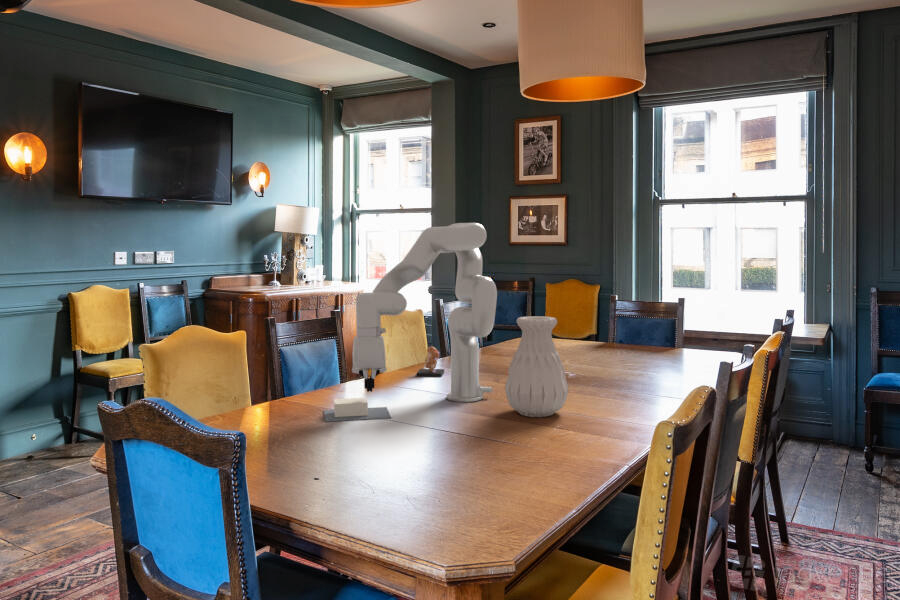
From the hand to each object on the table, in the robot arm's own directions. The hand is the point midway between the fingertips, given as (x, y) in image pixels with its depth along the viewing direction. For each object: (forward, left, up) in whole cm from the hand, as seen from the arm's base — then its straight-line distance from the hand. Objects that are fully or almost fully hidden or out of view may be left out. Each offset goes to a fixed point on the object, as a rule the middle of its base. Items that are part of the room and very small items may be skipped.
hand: (369, 390), depth 217 cm
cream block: (+1, 0, -5) cm, 5 cm away
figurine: (-30, -61, -8) cm, 69 cm away
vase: (-51, +10, -8) cm, 53 cm away
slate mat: (+4, 0, -7) cm, 8 cm away
